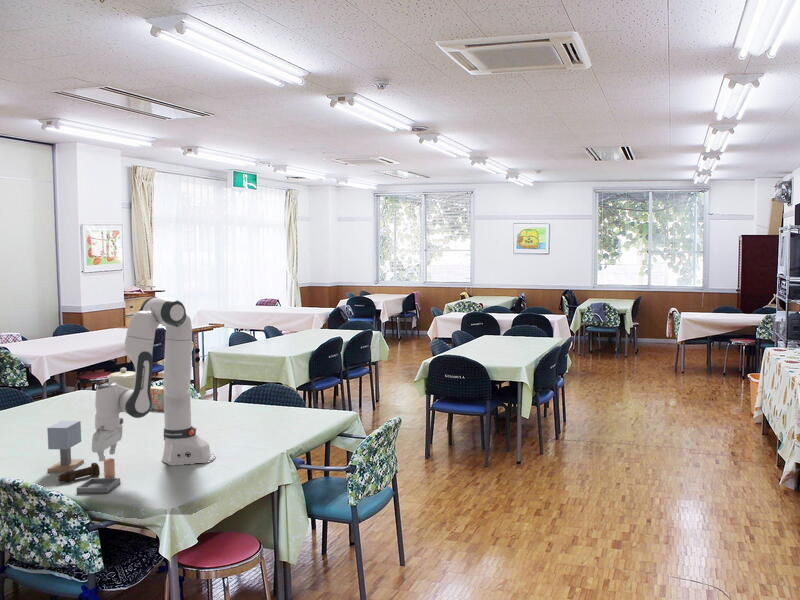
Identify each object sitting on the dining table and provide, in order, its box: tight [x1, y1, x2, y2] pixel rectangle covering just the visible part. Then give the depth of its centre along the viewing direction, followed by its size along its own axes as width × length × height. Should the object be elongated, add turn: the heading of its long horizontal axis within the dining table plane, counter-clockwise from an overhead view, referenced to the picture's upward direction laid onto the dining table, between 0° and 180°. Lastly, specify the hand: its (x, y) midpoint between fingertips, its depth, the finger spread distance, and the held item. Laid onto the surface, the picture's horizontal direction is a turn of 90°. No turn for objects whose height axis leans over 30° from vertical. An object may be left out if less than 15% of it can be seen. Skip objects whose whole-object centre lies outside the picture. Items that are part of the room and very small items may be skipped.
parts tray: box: [76, 477, 121, 495], centre depth 275 cm, size 12×12×2 cm
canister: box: [106, 367, 135, 390], centre depth 427 cm, size 18×18×21 cm
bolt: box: [57, 462, 101, 483], centre depth 287 cm, size 6×5×15 cm
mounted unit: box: [46, 420, 85, 473], centre depth 301 cm, size 10×13×18 cm
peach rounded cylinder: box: [103, 458, 116, 478], centre depth 289 cm, size 4×4×7 cm
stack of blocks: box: [150, 385, 164, 411], centre depth 413 cm, size 21×6×12 cm, turn 70°
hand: (107, 457), depth 288 cm, fingers open, 8 cm apart
